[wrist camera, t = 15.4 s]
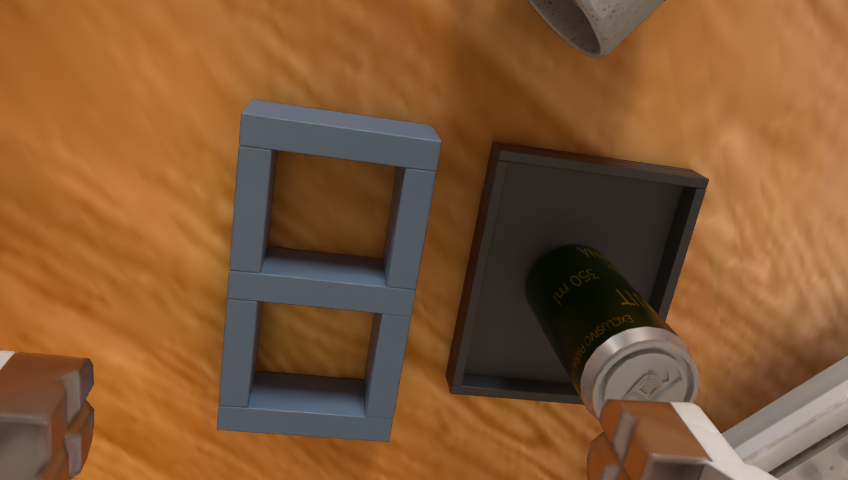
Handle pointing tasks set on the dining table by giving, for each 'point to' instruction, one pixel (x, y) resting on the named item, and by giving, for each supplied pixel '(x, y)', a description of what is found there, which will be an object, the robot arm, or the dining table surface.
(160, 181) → the dining table surface
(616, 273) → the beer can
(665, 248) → the tray
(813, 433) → the dish rack
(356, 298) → the frame
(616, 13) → the ceramic mug
